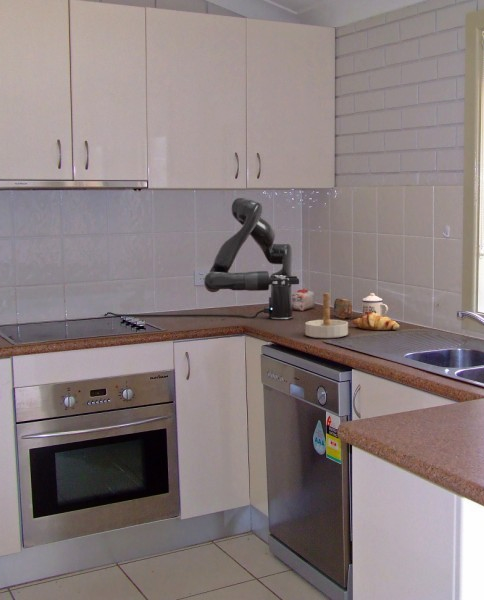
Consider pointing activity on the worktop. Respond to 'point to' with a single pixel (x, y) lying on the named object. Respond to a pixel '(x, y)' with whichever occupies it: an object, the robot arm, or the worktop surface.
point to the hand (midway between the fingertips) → (298, 280)
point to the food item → (303, 300)
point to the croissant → (375, 322)
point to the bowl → (326, 329)
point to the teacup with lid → (373, 305)
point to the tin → (342, 308)
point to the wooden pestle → (326, 310)
